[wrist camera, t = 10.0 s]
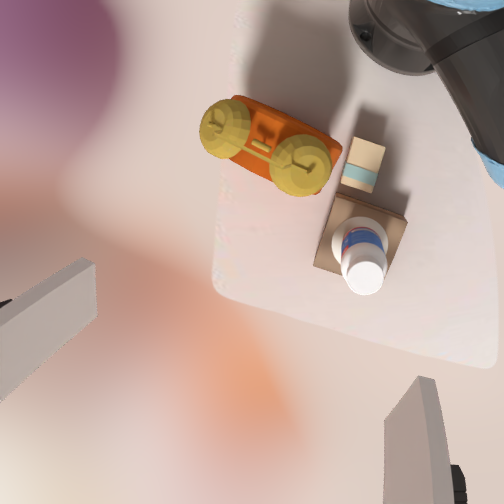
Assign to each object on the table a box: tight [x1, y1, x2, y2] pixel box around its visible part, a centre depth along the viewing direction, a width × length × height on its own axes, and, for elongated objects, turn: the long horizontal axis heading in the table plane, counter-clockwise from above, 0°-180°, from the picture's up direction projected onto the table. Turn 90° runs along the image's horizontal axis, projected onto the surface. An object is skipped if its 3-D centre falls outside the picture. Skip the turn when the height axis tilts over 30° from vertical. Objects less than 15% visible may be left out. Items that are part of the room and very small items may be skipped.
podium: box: [313, 192, 408, 279], centre depth 42 cm, size 10×10×3 cm
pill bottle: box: [341, 226, 387, 295], centre depth 36 cm, size 6×5×10 cm
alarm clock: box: [199, 95, 343, 197], centre depth 32 cm, size 13×6×20 cm, turn 65°
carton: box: [341, 136, 385, 193], centre depth 38 cm, size 6×4×4 cm
